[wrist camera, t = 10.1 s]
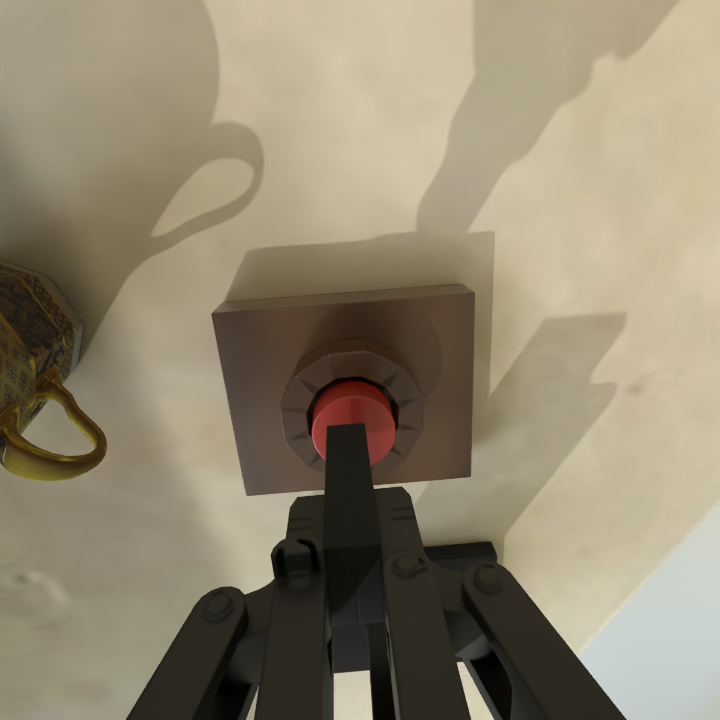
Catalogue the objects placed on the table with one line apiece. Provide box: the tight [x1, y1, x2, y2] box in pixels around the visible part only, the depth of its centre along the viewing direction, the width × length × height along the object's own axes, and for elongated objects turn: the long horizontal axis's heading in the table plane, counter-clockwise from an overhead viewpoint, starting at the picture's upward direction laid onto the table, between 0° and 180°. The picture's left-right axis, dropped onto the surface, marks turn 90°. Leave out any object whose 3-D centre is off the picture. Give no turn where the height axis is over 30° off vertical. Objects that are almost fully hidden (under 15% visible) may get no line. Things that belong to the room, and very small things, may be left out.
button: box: [312, 381, 396, 466], centre depth 20 cm, size 4×4×2 cm
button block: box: [212, 284, 475, 496], centre depth 22 cm, size 12×10×4 cm
